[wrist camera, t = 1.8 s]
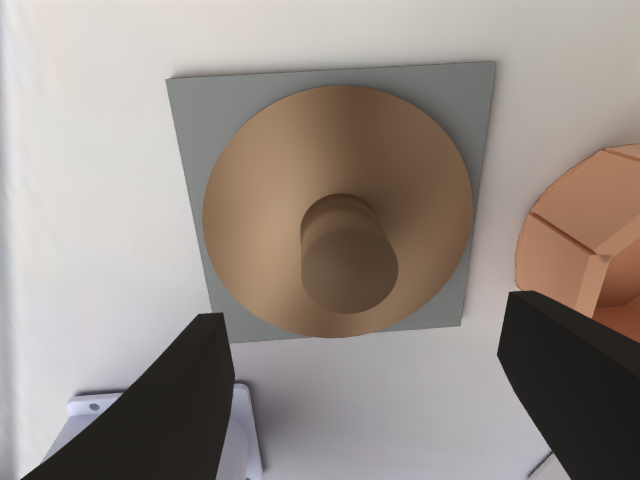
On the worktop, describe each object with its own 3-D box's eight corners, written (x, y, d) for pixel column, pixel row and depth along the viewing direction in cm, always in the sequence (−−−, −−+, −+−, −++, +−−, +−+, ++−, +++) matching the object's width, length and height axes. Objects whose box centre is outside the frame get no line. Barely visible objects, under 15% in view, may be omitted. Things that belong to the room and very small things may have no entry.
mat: (220, 336, 19) (218, 344, 19) (170, 78, 14) (165, 79, 14) (455, 318, 20) (460, 325, 19) (488, 61, 15) (496, 61, 14)
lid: (228, 335, 19) (210, 408, 15) (181, 94, 14) (137, 107, 10) (452, 318, 19) (492, 385, 15) (480, 76, 14) (548, 82, 10)
